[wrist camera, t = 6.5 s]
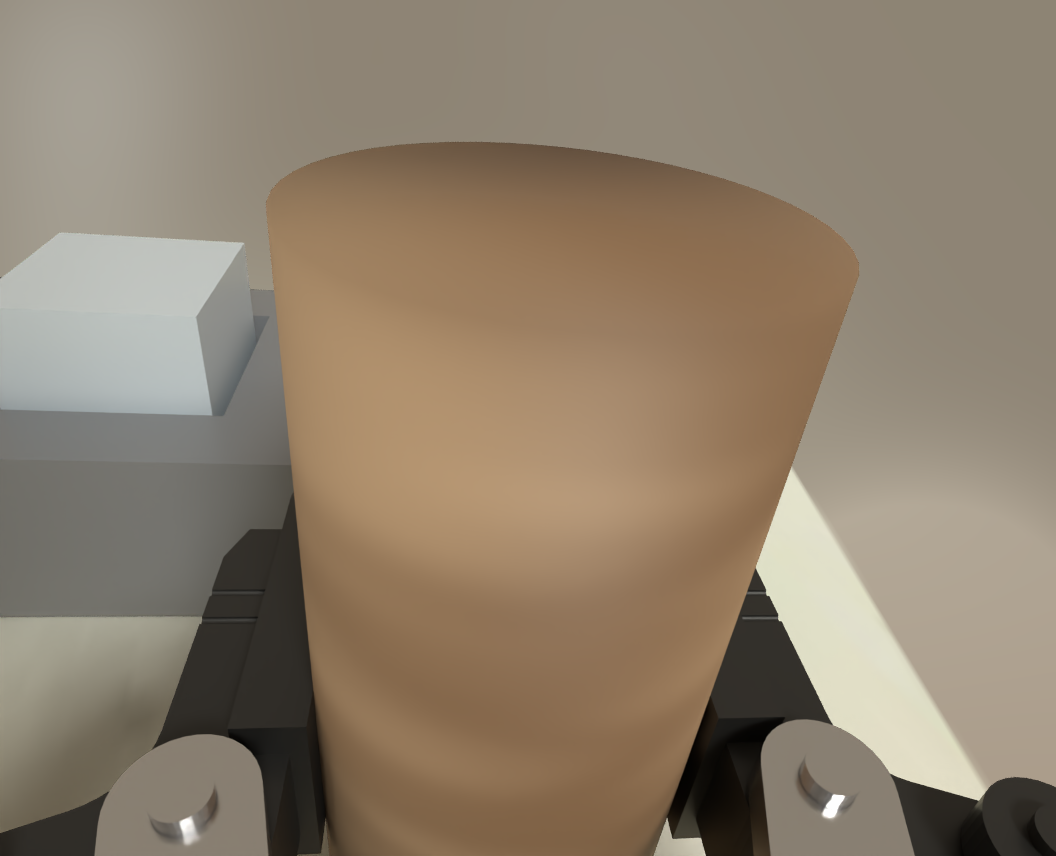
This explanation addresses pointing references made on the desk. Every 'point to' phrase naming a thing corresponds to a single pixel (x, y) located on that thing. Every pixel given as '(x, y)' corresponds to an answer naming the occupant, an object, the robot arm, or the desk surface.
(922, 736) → the desk surface
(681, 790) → the robot arm
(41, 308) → the grey-blue key
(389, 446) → the brown wooden cylinder
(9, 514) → the key console
